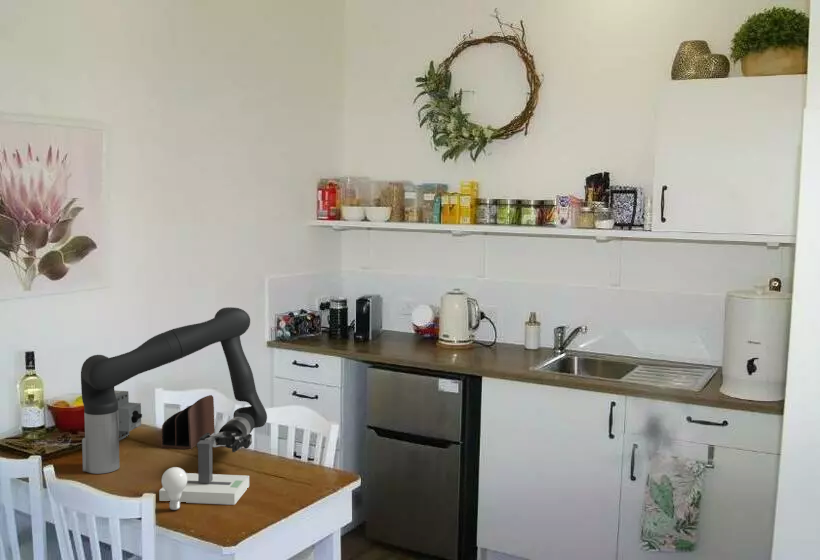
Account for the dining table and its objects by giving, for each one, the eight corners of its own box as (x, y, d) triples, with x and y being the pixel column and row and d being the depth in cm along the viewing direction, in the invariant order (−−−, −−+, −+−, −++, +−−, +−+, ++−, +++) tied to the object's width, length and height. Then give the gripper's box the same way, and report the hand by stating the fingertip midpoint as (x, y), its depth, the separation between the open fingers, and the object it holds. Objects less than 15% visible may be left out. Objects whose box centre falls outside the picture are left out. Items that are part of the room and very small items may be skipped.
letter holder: (215, 433, 278) (214, 392, 276) (190, 450, 258) (190, 406, 257) (187, 431, 279) (186, 390, 278) (161, 448, 260) (160, 405, 258)
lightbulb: (164, 505, 211) (164, 463, 210) (189, 504, 212) (189, 463, 211) (159, 514, 205) (158, 472, 204) (185, 514, 206) (184, 471, 205)
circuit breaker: (134, 443, 264) (133, 397, 263) (94, 440, 267) (93, 394, 266) (146, 436, 271) (145, 392, 270) (107, 433, 274) (106, 389, 273)
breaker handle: (197, 483, 219) (197, 443, 217) (201, 479, 222) (200, 440, 220) (209, 483, 218) (209, 443, 217) (213, 479, 221) (213, 440, 220)
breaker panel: (159, 501, 214) (159, 490, 214) (178, 483, 228) (178, 472, 228) (234, 504, 213) (234, 493, 212) (249, 486, 226) (249, 475, 226)
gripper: (211, 418, 247) (193, 434, 231) (258, 420, 246) (243, 436, 229) (212, 443, 247) (193, 460, 231) (258, 444, 246) (243, 462, 230)
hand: (218, 448), depth 230 cm, fingers open, 8 cm apart
